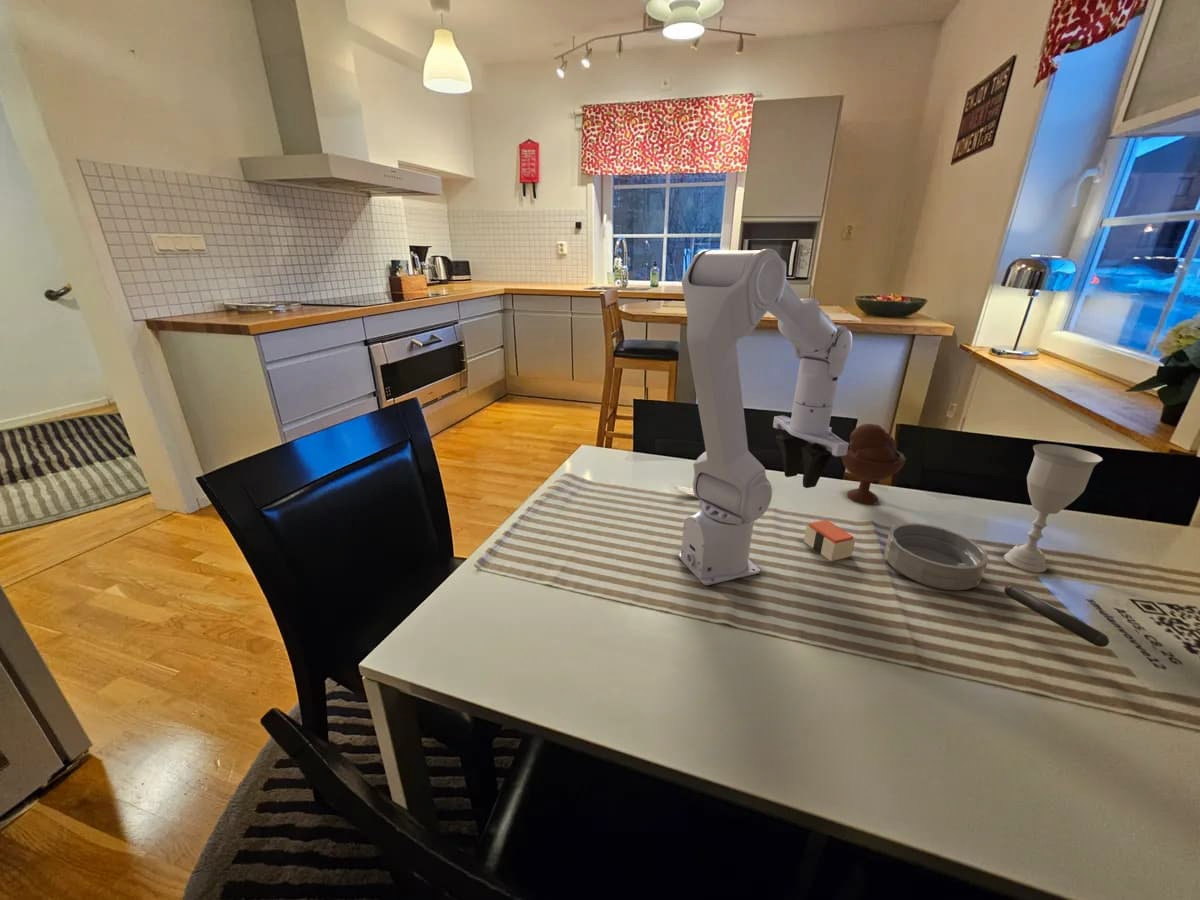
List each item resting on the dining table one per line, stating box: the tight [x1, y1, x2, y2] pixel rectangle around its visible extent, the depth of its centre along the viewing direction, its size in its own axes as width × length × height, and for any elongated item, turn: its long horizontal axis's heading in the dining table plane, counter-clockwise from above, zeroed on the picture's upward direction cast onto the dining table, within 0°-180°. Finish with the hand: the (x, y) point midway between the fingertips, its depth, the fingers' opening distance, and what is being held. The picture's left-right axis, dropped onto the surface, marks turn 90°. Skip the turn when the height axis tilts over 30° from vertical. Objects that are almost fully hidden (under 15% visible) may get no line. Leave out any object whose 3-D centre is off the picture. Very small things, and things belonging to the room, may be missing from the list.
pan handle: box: [1004, 584, 1110, 648], centre depth 59 cm, size 2×11×2 cm, turn 20°
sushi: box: [803, 519, 856, 562], centre depth 77 cm, size 4×6×4 cm
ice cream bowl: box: [840, 423, 907, 505], centre depth 92 cm, size 11×11×15 cm
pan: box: [883, 522, 989, 591], centre depth 73 cm, size 12×12×4 cm
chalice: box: [1003, 443, 1103, 573], centre depth 71 cm, size 7×7×18 cm
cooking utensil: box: [671, 483, 696, 497], centre depth 97 cm, size 3×20×2 cm, turn 103°
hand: (799, 481), depth 82 cm, fingers open, 4 cm apart
